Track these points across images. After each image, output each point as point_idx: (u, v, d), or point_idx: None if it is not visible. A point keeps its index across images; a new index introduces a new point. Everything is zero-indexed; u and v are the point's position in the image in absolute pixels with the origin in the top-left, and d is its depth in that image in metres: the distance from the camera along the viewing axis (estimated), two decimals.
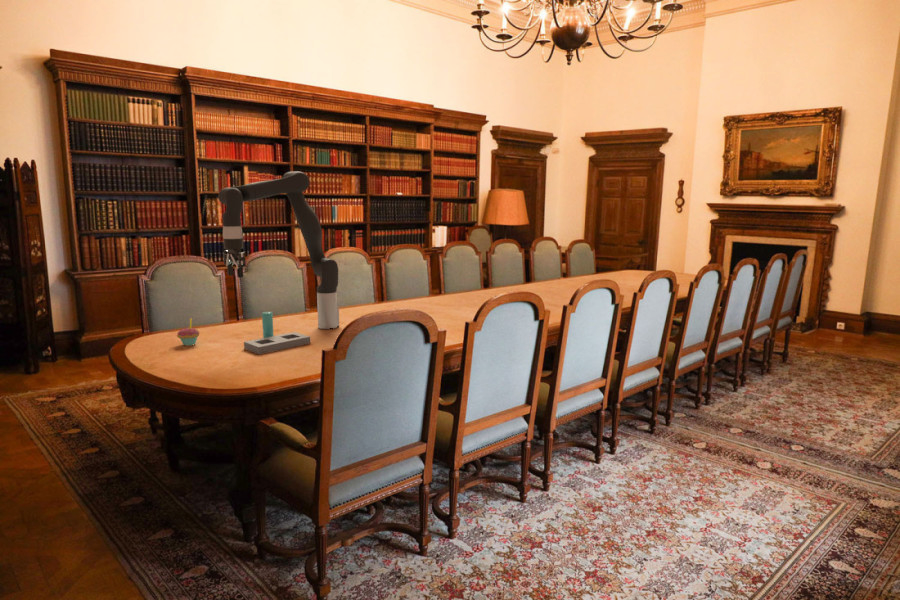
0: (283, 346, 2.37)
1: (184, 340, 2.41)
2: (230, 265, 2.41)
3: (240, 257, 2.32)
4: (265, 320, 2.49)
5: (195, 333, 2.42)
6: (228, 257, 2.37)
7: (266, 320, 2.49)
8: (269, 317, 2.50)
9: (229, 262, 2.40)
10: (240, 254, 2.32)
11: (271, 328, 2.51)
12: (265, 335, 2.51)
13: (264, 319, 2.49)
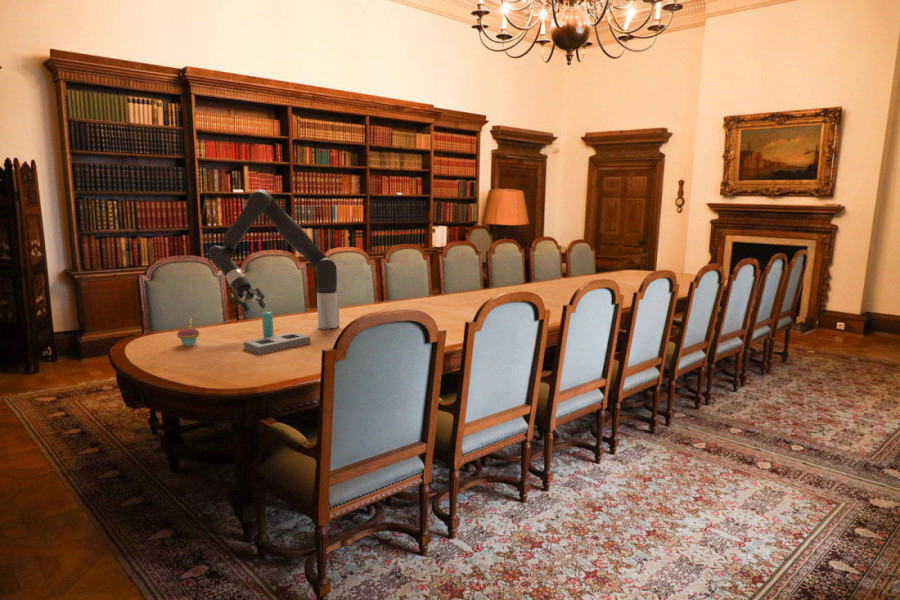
0: (283, 346, 2.37)
1: (184, 340, 2.41)
2: (259, 300, 2.59)
3: (232, 297, 2.52)
4: (265, 320, 2.49)
5: (195, 333, 2.42)
6: None
7: (266, 320, 2.49)
8: (269, 317, 2.50)
9: (254, 299, 2.59)
10: (231, 295, 2.52)
11: (271, 328, 2.51)
12: (265, 335, 2.51)
13: (264, 319, 2.49)
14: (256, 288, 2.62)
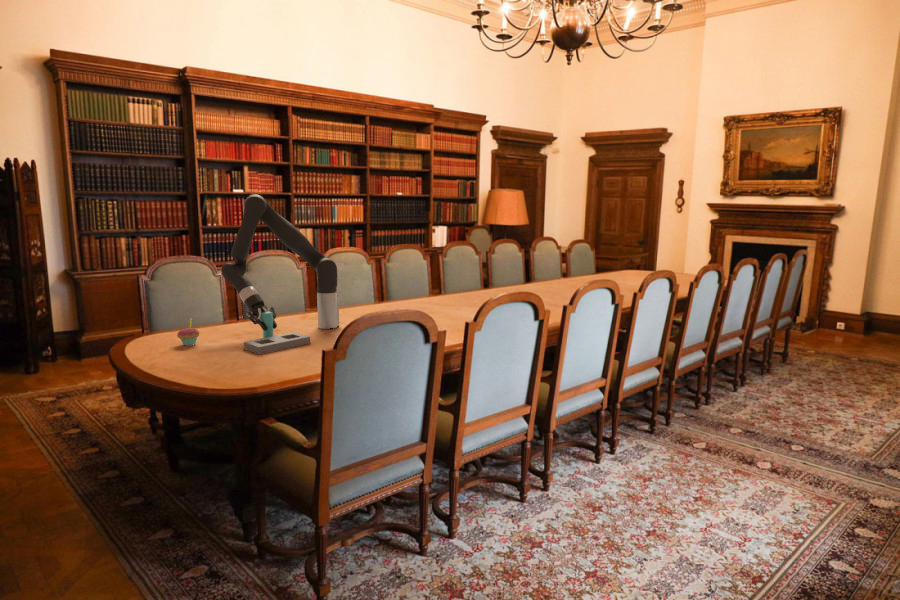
0: (283, 346, 2.37)
1: (184, 340, 2.41)
2: None
3: (249, 317, 2.49)
4: (265, 320, 2.49)
5: (195, 333, 2.42)
6: None
7: (266, 320, 2.49)
8: (269, 317, 2.50)
9: None
10: (247, 315, 2.48)
11: (271, 328, 2.51)
12: (265, 335, 2.51)
13: (264, 319, 2.49)
14: (271, 307, 2.58)
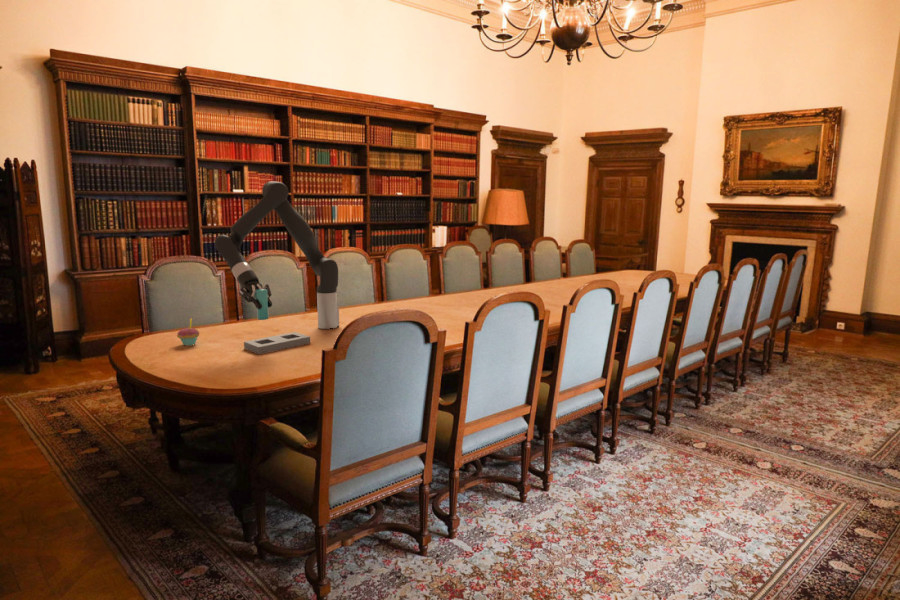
0: (283, 346, 2.37)
1: (184, 340, 2.41)
2: None
3: (242, 295, 2.31)
4: (259, 298, 2.32)
5: (195, 333, 2.42)
6: None
7: (260, 298, 2.32)
8: (264, 294, 2.32)
9: None
10: (240, 292, 2.31)
11: (266, 306, 2.34)
12: (259, 314, 2.33)
13: (258, 297, 2.32)
14: (266, 284, 2.40)
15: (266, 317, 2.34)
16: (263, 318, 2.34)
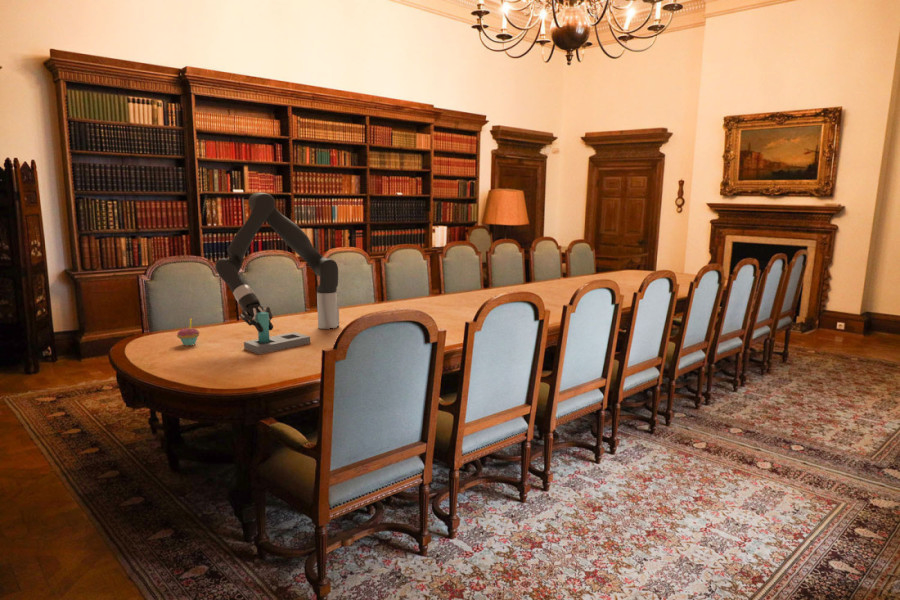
0: (283, 346, 2.37)
1: (184, 340, 2.41)
2: None
3: (243, 318, 2.33)
4: (260, 321, 2.34)
5: (195, 333, 2.42)
6: None
7: (262, 321, 2.34)
8: (265, 317, 2.34)
9: None
10: (241, 316, 2.33)
11: (267, 329, 2.35)
12: (260, 337, 2.35)
13: (259, 320, 2.34)
14: (267, 307, 2.42)
15: (267, 340, 2.36)
16: (264, 341, 2.35)
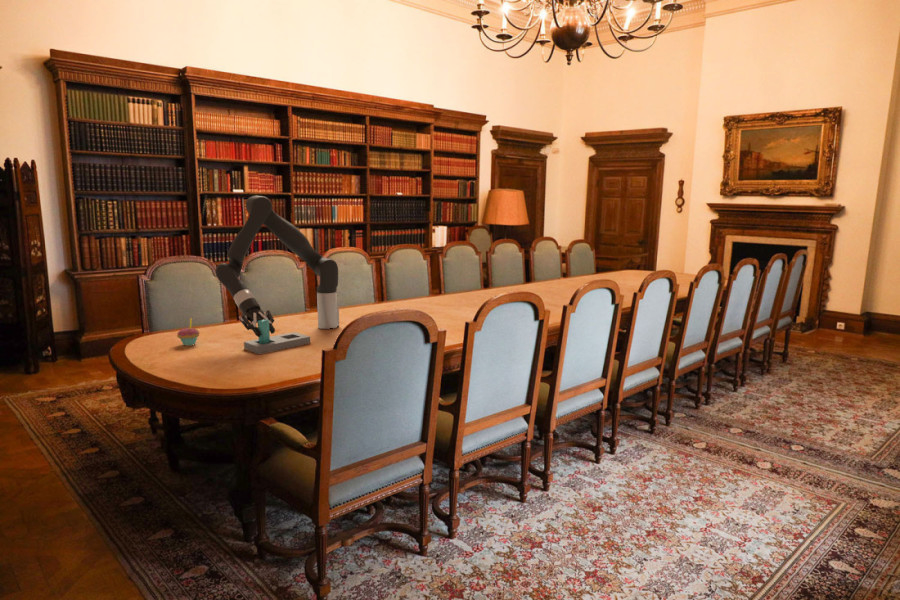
0: (283, 346, 2.37)
1: (184, 340, 2.41)
2: None
3: (242, 322, 2.33)
4: (261, 328, 2.34)
5: (195, 333, 2.42)
6: None
7: (262, 328, 2.34)
8: (265, 325, 2.35)
9: None
10: (240, 319, 2.33)
11: (267, 337, 2.36)
12: None
13: (260, 327, 2.34)
14: (267, 311, 2.43)
15: None
16: None
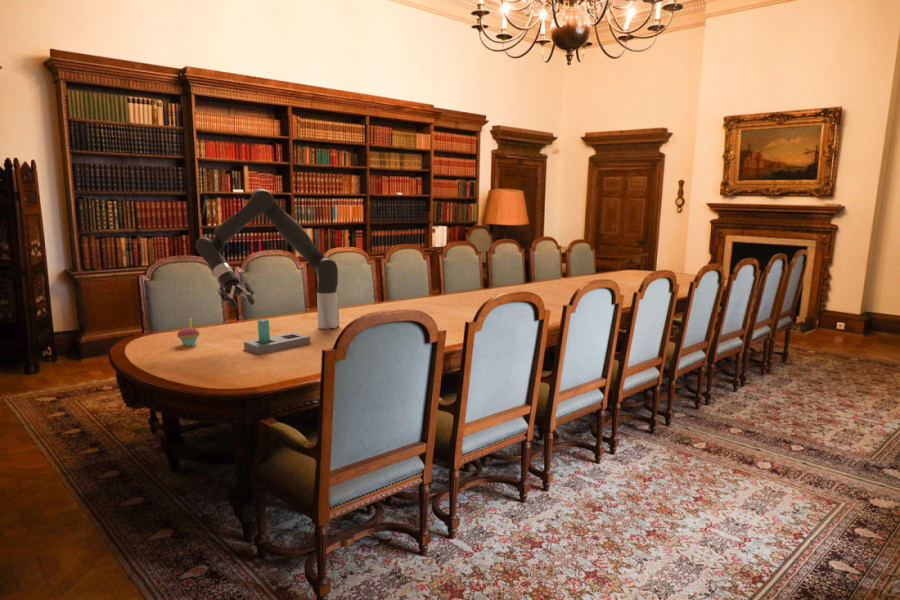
0: (283, 346, 2.37)
1: (184, 340, 2.41)
2: (248, 296, 2.46)
3: (219, 293, 2.38)
4: (261, 328, 2.34)
5: (195, 333, 2.42)
6: None
7: (262, 328, 2.34)
8: (265, 325, 2.35)
9: (243, 295, 2.46)
10: (218, 290, 2.38)
11: (267, 337, 2.36)
12: None
13: (260, 327, 2.34)
14: (245, 283, 2.48)
15: None
16: None
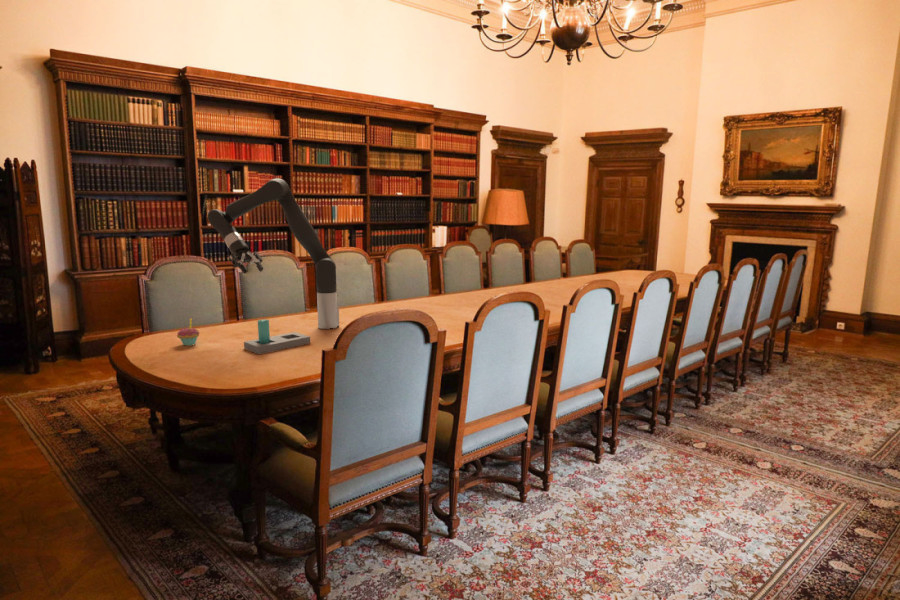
0: (283, 346, 2.37)
1: (184, 340, 2.41)
2: (257, 263, 2.63)
3: (231, 259, 2.56)
4: (261, 328, 2.34)
5: (195, 333, 2.42)
6: None
7: (262, 328, 2.34)
8: (265, 325, 2.35)
9: (253, 262, 2.63)
10: (229, 257, 2.56)
11: (267, 337, 2.36)
12: None
13: (260, 327, 2.34)
14: None
15: None
16: None
